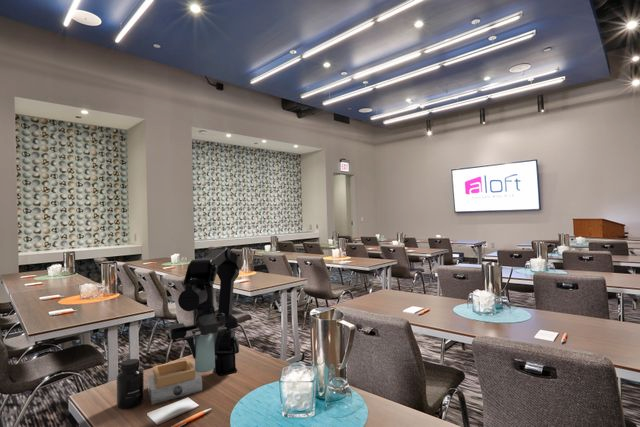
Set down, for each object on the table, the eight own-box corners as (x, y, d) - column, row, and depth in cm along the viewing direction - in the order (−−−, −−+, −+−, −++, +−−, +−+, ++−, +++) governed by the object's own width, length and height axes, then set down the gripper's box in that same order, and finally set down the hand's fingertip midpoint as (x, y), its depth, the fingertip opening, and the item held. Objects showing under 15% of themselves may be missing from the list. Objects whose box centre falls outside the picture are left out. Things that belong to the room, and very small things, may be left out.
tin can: (212, 362, 107) (211, 328, 107) (217, 369, 102) (216, 333, 102) (193, 367, 104) (192, 331, 104) (197, 374, 99) (196, 336, 99)
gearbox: (193, 376, 118) (193, 356, 118) (202, 391, 107) (202, 369, 107) (147, 388, 110) (146, 367, 110) (151, 405, 100) (151, 382, 100)
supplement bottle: (132, 411, 97) (131, 367, 97) (111, 409, 98) (110, 366, 98) (149, 398, 104) (148, 357, 104) (129, 397, 105) (128, 356, 105)
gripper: (173, 313, 92) (175, 373, 91) (243, 302, 101) (244, 357, 101) (167, 305, 101) (168, 360, 101) (231, 296, 111) (233, 346, 111)
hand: (204, 356), depth 103 cm, fingers closed on tin can, 5 cm apart
